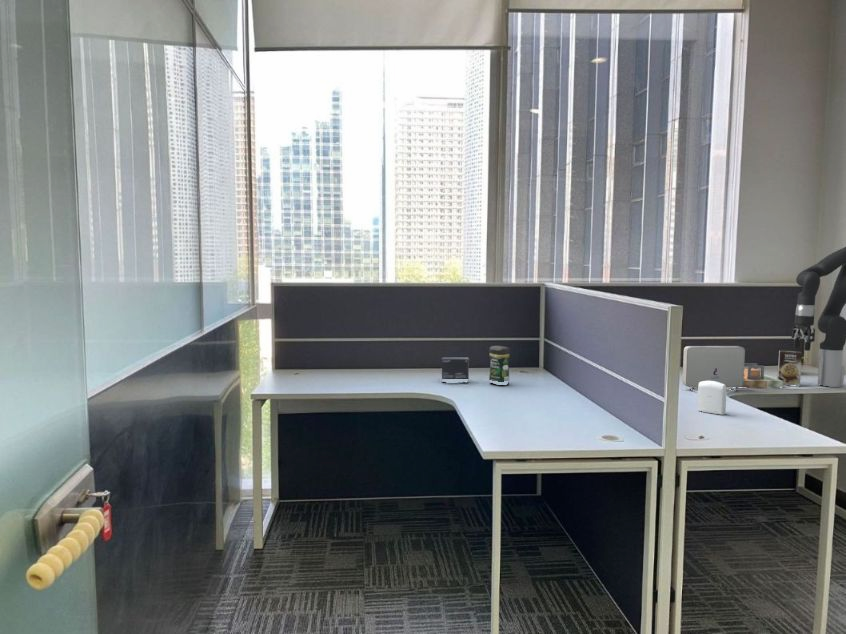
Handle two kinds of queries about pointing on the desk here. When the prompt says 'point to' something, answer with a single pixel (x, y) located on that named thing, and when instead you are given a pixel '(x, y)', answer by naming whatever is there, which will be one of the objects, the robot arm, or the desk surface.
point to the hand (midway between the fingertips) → (801, 349)
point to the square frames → (754, 368)
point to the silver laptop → (713, 365)
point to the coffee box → (789, 367)
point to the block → (752, 373)
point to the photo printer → (712, 397)
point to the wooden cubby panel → (763, 383)
